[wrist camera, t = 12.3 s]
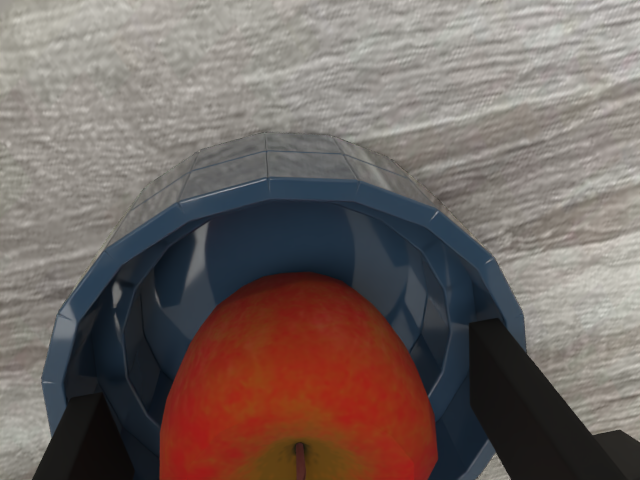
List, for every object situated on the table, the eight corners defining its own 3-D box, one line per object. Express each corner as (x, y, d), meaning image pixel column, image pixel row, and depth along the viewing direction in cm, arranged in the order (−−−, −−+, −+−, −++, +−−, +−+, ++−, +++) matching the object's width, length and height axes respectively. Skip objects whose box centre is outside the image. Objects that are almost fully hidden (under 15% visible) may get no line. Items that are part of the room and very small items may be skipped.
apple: (307, 184, 15) (349, 324, 8) (412, 319, 17) (513, 514, 11) (148, 300, 16) (66, 514, 9) (268, 413, 18) (276, 648, 12)
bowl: (68, 397, 18) (4, 529, 13) (158, 64, 14) (110, 88, 9) (372, 462, 21) (404, 587, 16) (520, 204, 17) (618, 275, 12)
